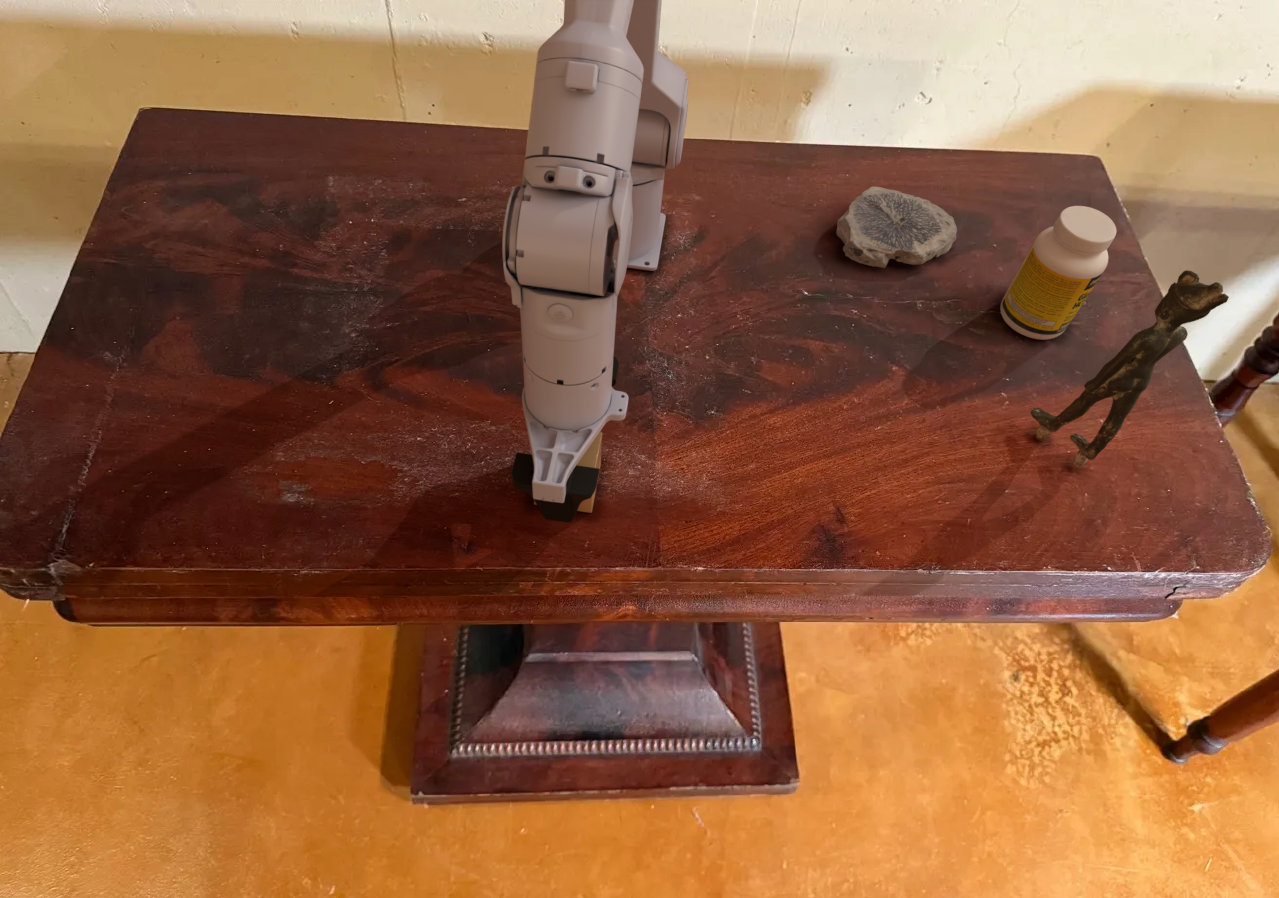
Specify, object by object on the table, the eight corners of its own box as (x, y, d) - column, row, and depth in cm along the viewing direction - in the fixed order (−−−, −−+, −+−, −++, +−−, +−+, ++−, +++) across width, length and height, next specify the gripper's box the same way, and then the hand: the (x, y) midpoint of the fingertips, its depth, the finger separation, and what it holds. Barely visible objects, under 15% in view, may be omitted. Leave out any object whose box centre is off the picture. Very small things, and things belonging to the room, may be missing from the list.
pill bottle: (1062, 350, 80) (1125, 257, 71) (994, 330, 81) (1047, 235, 72) (1067, 305, 83) (1127, 211, 74) (1002, 286, 84) (1053, 191, 75)
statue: (1050, 410, 76) (1182, 224, 59) (1104, 465, 72) (1259, 284, 56) (1009, 428, 74) (1133, 243, 58) (1062, 485, 71) (1209, 306, 55)
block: (533, 504, 67) (531, 471, 63) (544, 457, 69) (543, 423, 66) (591, 513, 66) (593, 480, 63) (600, 465, 69) (602, 431, 65)
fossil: (871, 261, 81) (830, 176, 84) (852, 288, 84) (813, 205, 88) (972, 249, 85) (929, 168, 88) (950, 274, 88) (909, 196, 92)
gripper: (615, 452, 51) (606, 565, 62) (645, 280, 60) (633, 406, 71) (494, 435, 51) (506, 551, 62) (542, 266, 60) (545, 394, 71)
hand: (567, 473), depth 66 cm, fingers open, 7 cm apart
